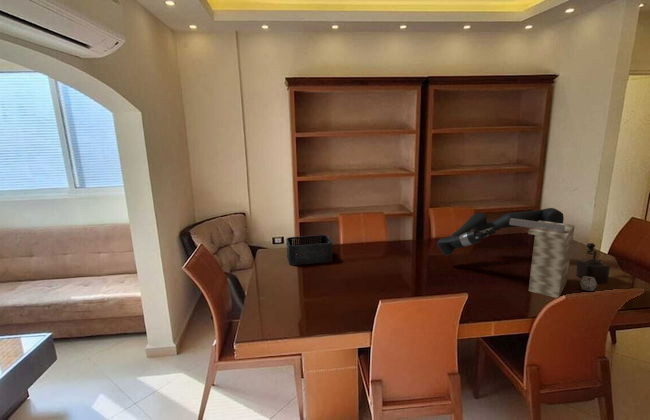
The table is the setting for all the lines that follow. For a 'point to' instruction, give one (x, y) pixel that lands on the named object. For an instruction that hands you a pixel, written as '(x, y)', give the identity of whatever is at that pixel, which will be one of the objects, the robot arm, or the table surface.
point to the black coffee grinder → (593, 267)
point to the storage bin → (309, 250)
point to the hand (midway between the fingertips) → (497, 229)
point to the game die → (588, 283)
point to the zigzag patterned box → (550, 260)
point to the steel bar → (537, 225)
